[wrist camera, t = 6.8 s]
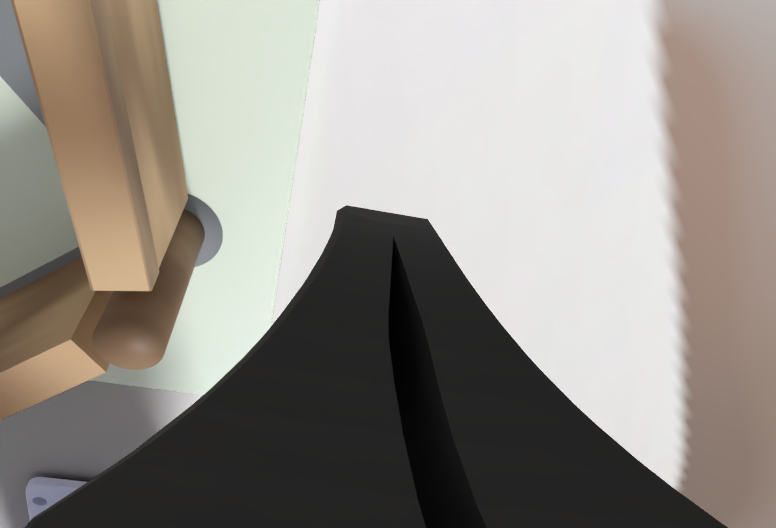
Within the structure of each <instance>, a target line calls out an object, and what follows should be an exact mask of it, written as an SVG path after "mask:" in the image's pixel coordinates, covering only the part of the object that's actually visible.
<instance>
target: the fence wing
mask: <svg viewBox="0 0 776 528" xmlns="http://www.w3.org/2000/svg"><path fill="white" fill-rule="evenodd" d="M11 3H12V7H13V10H14V14H15V17H16V21H17V25H18V28H19V32H20V35H21V39H22V43H23V46H24V50H25V54H26V57H27V61H28V64H29V68H30V72H31V75H32V79H33V82H34V86H35V90H36V93H37V97H38V100H39V104H40V108H41V111H42V115H43V118H44V122H45V126H46V129H47V133H48V136H49V140H50V144H51V147H52V151H53V154H54V158H55V162H56V165H57V169H58V172H59V176H60V180H61V183H62V187H63V190H64V194H65V198H66V201H67V205H68V208H69V212H70V216H71V219H72V223H73V226H74V230H75V234H76V237H77V241H78V244H79V248H80V252H81V255H82V259H83V262H84V266H85V270H86V273H87V277H88V280H89V284H90V288H91V291H152V289H153V287H154V285H155V282H156V280H157V277H158V275H159V267H160V265H161V262H162V260H163V257H164V255H165V253H166V250H167V248H168V245H169V243H170V241H171V238H172V236H173V234H174V231H175V229H176V226H177V224H178V222H179V219H180V217H181V214H182V212H183V210H184V207H185V205H186V202H187V200H188V195H187V188H186V182H185V176H184V169H183V163H182V157H181V150H180V144H179V138H178V131H177V125H176V119H175V113H174V106H173V100H172V94H171V87H170V81H169V75H168V68H167V62H166V56H165V49H164V43H163V37H162V30H161V24H160V18H159V12H158V5H157V0H11Z"/></svg>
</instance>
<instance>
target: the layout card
mask: <svg viewBox="0 0 776 528" xmlns="http://www.w3.org/2000/svg"><path fill="white" fill-rule="evenodd" d="M319 4H320V0H157V5H158V12H159V18H160V24H161V30H162V37H163V43H164V49H165V56H166V62H167V68H168V75H169V81H170V87H171V94H172V100H173V106H174V113H175V119H176V125H177V131H178V138H179V144H180V150H181V157H182V163H183V169H184V176H185V182H186V188H187V195H188V200H187V202H186V205H185V207H184V209H185V210H188V211H189V212H191V213H193V214H194V215H195V216H196V217H197V218H198V219H199V220H200V221H201V223H202V225H203V227H204V231H205V238H204V241H203V244H202V247H201V250H200V253H199V256H198V259H197V261H196V264H195V267H194V270H193V273H192V276H191V279H190V282H189V284H188V287H187V290H186V293H185V296H184V299H183V302H182V305H181V308H180V310H179V313H178V316H177V319H176V322H175V325H174V328H173V331H172V333H171V336H170V339H169V342H168V345H167V348H166V351H165V354H164V356H163V358H162V360H161V361H160V362H159V363H158V364H156V365H155V366H153V367H151V368H148V369H143V370H128V369H123V368H119V367H117V366H114V365H112V364H110V365H109V367H108V369H107V372H106V373H103V374H101V375H99V376H97V377H95V378H92V379H90V380H88V381H96V382H104V383H112V384H120V385H128V386H136V387H143V388H151V389H159V390H167V391H175V392H183V393H191V394H199V395H204V394H205V393H206V392H208V391H209V390H210V389H211V388H212V387H213V386H214V385H215V384H216V383H217V382H218V381H219V380H220V379H221V378H222V377H224V376H225V375H226V374H227V373H228V372H229V371H230V370H231V369H232V368H233V367H234V366H235V365H236V364H237V363H238V362H239V361H240V360H241V359H242V358H243V357H244V356H245V355H246V354H247V353H248V352H249V351H250V350H251V349H252V347H253V346H254V345H255V344H256V343H257V342H258V341H259V340H260V339H261V338H262V337H263V335H264V334H265V333H266V332H267V331H268V330H269V328H270V327H271V323H272V316H273V310H274V303H275V296H276V290H277V283H278V276H279V270H280V263H281V257H282V250H283V243H284V237H285V230H286V223H287V217H288V210H289V203H290V197H291V190H292V183H293V177H294V170H295V163H296V157H297V150H298V144H299V137H300V130H301V124H302V117H303V110H304V104H305V97H306V90H307V84H308V77H309V70H310V64H311V57H312V50H313V44H314V37H315V31H316V24H317V17H318V11H319ZM80 257H82V255H81V252H80V248H79V244H78V241H77V237H76V234H75V230H74V226H73V223H72V219H71V216H70V212H69V208H68V205H67V201H66V198H65V194H64V190H63V187H62V183H61V180H60V176H59V172H58V169H57V165H56V162H55V158H54V154H53V151H52V147H51V144H50V140H49V136H48V133H47V129H46V126H45V122H44V118H43V115H42V111H41V108H40V104H39V100H38V97H37V93H36V90H35V86H34V82H33V79H32V75H31V72H30V68H29V64H28V61H27V57H26V54H25V50H24V46H23V43H22V39H21V35H20V32H19V28H18V25H17V21H16V17H15V14H14V10H13V7H12V3H11V0H0V298H2V297H4V296H6V295H8V294H10V293H12V292H14V291H16V290H18V289H20V288H22V287H24V286H26V285H28V284H29V283H31V282H33V281H35V280H37V279H39V278H41V277H43V276H45V275H47V274H49V273H51V272H53V271H55V270H57V269H59V268H61V267H62V266H64V265H66V264H68V263H70V262H72V261H74V260H76V259H78V258H80Z"/></svg>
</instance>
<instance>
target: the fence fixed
mask: <svg viewBox="0 0 776 528" xmlns="http://www.w3.org/2000/svg"><path fill="white" fill-rule="evenodd" d="M204 238H205V231H204V227H203V225H202V223H201V221H200V220H199V219H198V218H197V217H196V216H195V215H194V214H193V213H191V212H189V211H188V210H185V209H184V210H183V212H182V214H181V217H180V219H179V222H178V224H177V226H176V229H175V231H174V234H173V236H172V238H171V241H170V243H169V245H168V248H167V250H166V253H165V255H164V257H163V260H162V262H161V265H160V267H159V275H158V277H157V280H156V282H155V285H154V287H153V289H152V291H91V288H90V284H89V280H88V277H87V273H86V270H85V266H84V262H83V259H82V257H80V258H78V259H76V260H74V261H72V262H70V263H68V264H66V265H64V266H62V267H61V268H59V269H57V270H55V271H53V272H51V273H49V274H47V275H45V276H43V277H41V278H39V279H37V280H35V281H33V282H31V283H29V284H28V285H26V286H24V287H22V288H20V289H18V290H16V291H14V292H12V293H10V294H8V295H6V296H4V297H2V298H0V420H2V419H4V418H6V417H9V416H11V415H13V414H15V413H17V412H20V411H22V410H24V409H26V408H28V407H31V406H33V405H35V404H37V403H39V402H42V401H44V400H46V399H48V398H51V397H53V396H55V395H57V394H59V393H62V392H64V391H66V390H68V389H70V388H73V387H75V386H77V385H79V384H81V383H84V382H86V381H88V380H90V379H92V378H95V377H97V376H99V375H101V374H103V373H106V372H107V369H108V367H109V365H110V364H112V365H114V366H117V367H119V368H123V369H128V370H143V369H148V368H151V367H153V366H155V365H156V364H158V363H159V362H160V361H161V360H162V358H163V356H164V354H165V351H166V348H167V345H168V342H169V339H170V336H171V333H172V331H173V328H174V325H175V322H176V319H177V316H178V313H179V310H180V308H181V305H182V302H183V299H184V296H185V293H186V290H187V287H188V284H189V282H190V279H191V276H192V273H193V270H194V267H195V264H196V261H197V259H198V256H199V253H200V250H201V247H202V244H203V241H204Z"/></svg>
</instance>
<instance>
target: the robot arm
mask: <svg viewBox="0 0 776 528" xmlns="http://www.w3.org/2000/svg"><path fill="white" fill-rule="evenodd" d="M25 493H26V500H27V507H28V514H29V520H30V522H29V523H28V524H27V526H26V527H25V528H727V527H726V526H725V525H723V524H722V523H720V522H719V521H718V520H716V519H715V518H713V517H712V516H711V515H709V514H708V513H707V512H705V511H704V510H703V509H701V508H700V507H698V506H697V505H696V504H694V503H693V502H692V501H690V500H689V499H687V498H686V497H685V496H683V495H682V494H681V493H679V492H678V491H677V490H675V489H674V488H672V487H671V486H670V485H669V484H667V483H666V482H665V481H663V480H662V479H661V478H660V477H658V476H657V475H656V474H655V473H653V472H652V471H651V470H649V469H648V468H647V467H646V466H644V465H643V464H642V463H641V462H639V461H638V460H637V459H636V458H634V457H633V456H632V455H631V454H630V453H629V452H627V451H626V450H625V449H624V448H623V447H622V446H620V445H619V444H618V443H617V442H616V441H615V440H613V439H612V438H611V437H610V436H609V435H608V434H606V433H605V432H604V431H603V430H602V429H601V428H599V427H598V426H597V425H596V424H595V423H594V422H593V421H592V420H591V419H590V418H588V417H587V416H586V415H585V414H584V413H583V412H582V411H581V410H580V409H579V408H578V407H577V406H576V405H574V404H573V403H572V402H571V401H570V400H569V399H568V397H567V396H566V395H565V394H564V393H563V392H562V391H561V390H560V389H559V388H558V387H557V386H556V385H555V384H554V383H553V382H552V381H551V380H550V379H549V378H548V377H547V376H546V375H545V374H544V373H543V372H542V371H541V370H540V369H539V368H538V367H537V366H536V365H535V364H534V362H533V361H532V360H531V359H530V358H529V357H528V356H527V355H526V354H525V352H524V351H523V350H522V349H521V348H520V346H519V345H518V344H517V343H516V342H515V340H514V339H513V338H512V337H511V336H510V335H509V333H508V332H507V331H506V330H505V329H504V327H503V326H502V325H501V324H500V322H499V321H498V320H497V319H496V317H495V316H494V315H493V313H492V312H491V311H490V310H489V308H488V307H487V306H486V304H485V303H484V302H483V300H482V299H481V298H480V296H479V295H478V293H477V292H476V291H475V289H474V288H473V286H472V285H471V284H470V282H469V281H468V279H467V278H466V277H465V275H464V274H463V272H462V271H461V269H460V268H459V266H458V265H457V263H456V262H455V260H454V259H453V257H452V256H451V254H450V253H449V251H448V249H447V248H446V246H445V245H444V243H443V242H442V240H441V239H440V237H439V236H438V234H437V233H436V231H435V230H434V228H433V227H432V225H431V224H430V222H429V221H428V219H423V218H417V217H411V216H405V215H399V214H393V213H387V212H381V211H376V210H370V209H364V208H358V207H352V206H345V207H343V208H341V209H340V210H338V211H337V214H336V219H335V224H334V229H333V232H332V234H331V237H330V239H329V241H328V243H327V245H326V247H325V249H324V251H323V253H322V255H321V256H320V258H319V260H318V261H317V263H316V265H315V266H314V268H313V270H312V271H311V273H310V275H309V276H308V278H307V279H306V281H305V282H304V284H303V285H302V287H301V288H300V290H299V291H298V292H297V294H296V295H295V296H294V298H293V299H292V300H291V302H290V303H289V304H288V306H287V307H286V308H285V310H284V311H283V312H282V314H281V315H280V316H279V318H278V319H277V320H276V321H275V322H274V324H273V325H272V326H271V327H270V328H269V330H268V331H267V332H266V333H265V334H264V335H263V337H262V338H261V339H260V340H259V341H258V342H257V343H256V344H255V345H254V346H253V347H252V349H251V350H250V351H249V352H248V353H247V354H246V355H245V356H244V357H243V358H242V359H241V360H240V361H239V362H238V363H237V364H236V365H235V366H234V367H233V368H232V369H231V370H230V371H229V372H228V373H227V374H226V375H225V376H224V377H222V378H221V379H220V380H219V381H218V382H217V383H216V384H215V385H214V386H213V387H212V388H211V389H210V390H209V391H208V392H206V393H205V394H204V395H203V396H202V397H201V398H200V399H199V400H197V401H196V402H195V403H194V404H193V405H192V406H190V407H189V408H188V409H187V410H185V411H184V412H183V413H182V414H180V415H179V416H178V417H176V418H175V419H174V420H173V421H171V422H170V423H169V424H168V425H166V426H165V427H164V428H162V429H161V430H160V431H159V432H157V433H156V434H155V435H153V436H152V437H151V438H150V439H148V440H147V441H146V442H145V443H143V444H142V445H141V446H139V447H138V448H137V449H136V450H134V451H133V452H131V453H130V454H129V455H127V456H126V457H124V458H123V459H122V460H120V461H119V462H117V463H116V464H114V465H113V466H111V467H110V468H108V469H107V470H105V471H104V472H102V473H101V474H99V475H98V476H96V477H95V478H93V479H92V480H90V481H88V482H85V481H76V480H67V479H57V478H48V477H35V478H32V479H31V480H29V482H28V484H27V486H26V489H25Z"/></svg>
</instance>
